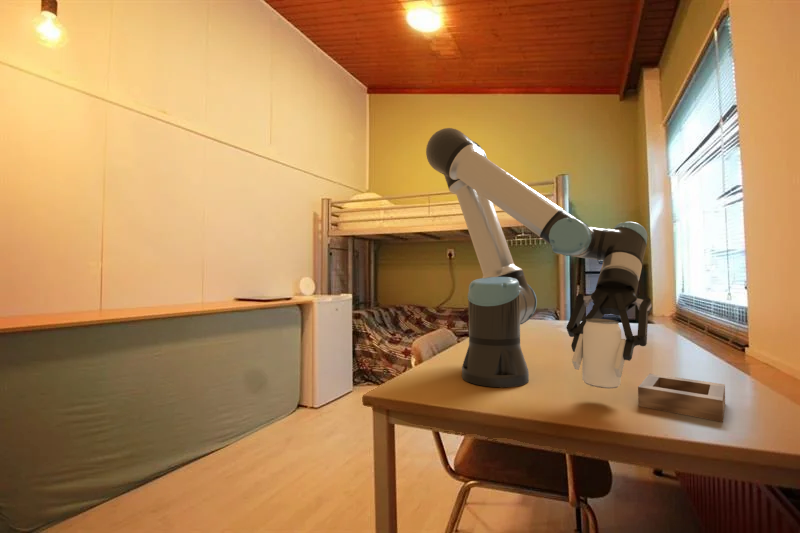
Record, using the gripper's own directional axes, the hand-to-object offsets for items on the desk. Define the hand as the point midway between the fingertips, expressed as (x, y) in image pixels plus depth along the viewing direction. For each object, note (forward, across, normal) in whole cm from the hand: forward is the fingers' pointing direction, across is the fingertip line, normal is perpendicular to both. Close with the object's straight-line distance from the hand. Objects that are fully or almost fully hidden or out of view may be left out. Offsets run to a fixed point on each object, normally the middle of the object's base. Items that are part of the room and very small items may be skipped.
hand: (595, 368), depth 71 cm
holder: (-3, -12, -13) cm, 18 cm away
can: (0, 0, -5) cm, 5 cm away
